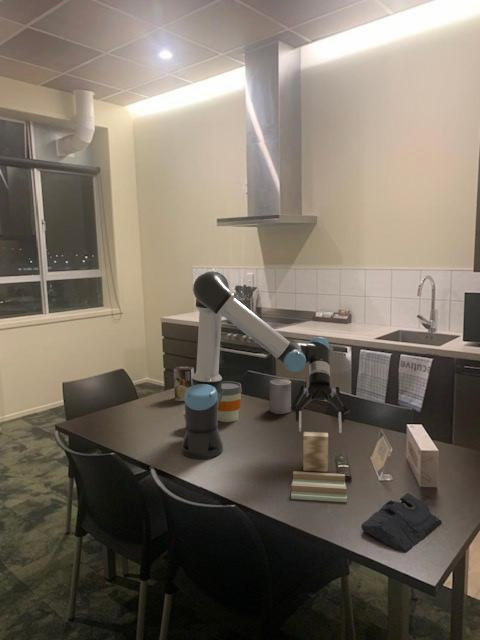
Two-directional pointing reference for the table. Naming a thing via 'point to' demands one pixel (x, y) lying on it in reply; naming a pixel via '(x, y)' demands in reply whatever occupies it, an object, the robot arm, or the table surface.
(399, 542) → the folded dark sweater
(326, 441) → the tan upright rectangular block
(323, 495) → the groove board
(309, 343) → the robot arm
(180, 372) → the coffee box
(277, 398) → the grey tin can
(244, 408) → the table surface
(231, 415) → the reusable coffee cup
